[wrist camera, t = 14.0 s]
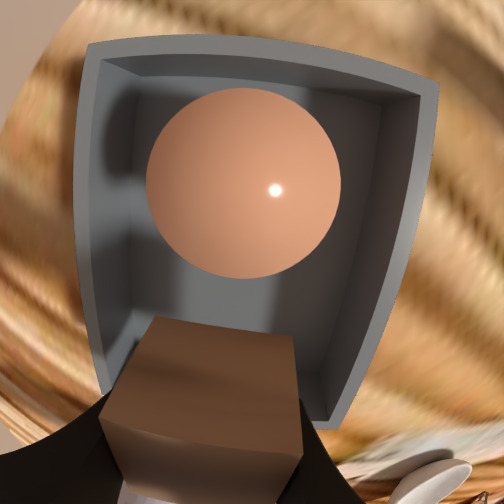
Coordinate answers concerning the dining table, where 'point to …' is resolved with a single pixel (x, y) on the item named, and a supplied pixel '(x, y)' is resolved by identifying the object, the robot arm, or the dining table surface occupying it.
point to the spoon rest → (431, 482)
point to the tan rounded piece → (243, 183)
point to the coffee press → (482, 503)
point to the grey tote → (276, 285)
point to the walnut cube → (206, 415)
